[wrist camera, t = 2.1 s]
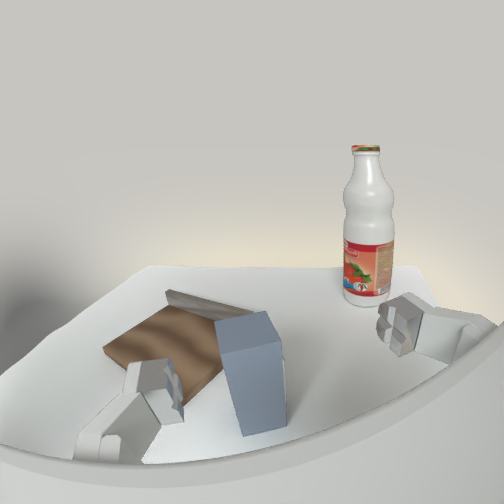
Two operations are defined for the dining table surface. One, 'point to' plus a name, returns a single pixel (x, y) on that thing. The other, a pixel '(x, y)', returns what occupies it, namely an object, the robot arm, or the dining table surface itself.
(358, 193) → the fruit juice
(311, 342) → the dining table surface
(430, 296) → the dining table surface
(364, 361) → the dining table surface
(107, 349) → the shelf board
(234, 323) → the carton
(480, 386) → the robot arm
